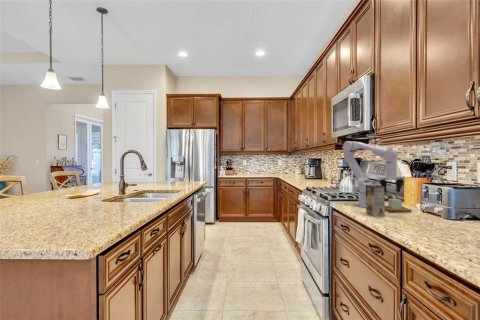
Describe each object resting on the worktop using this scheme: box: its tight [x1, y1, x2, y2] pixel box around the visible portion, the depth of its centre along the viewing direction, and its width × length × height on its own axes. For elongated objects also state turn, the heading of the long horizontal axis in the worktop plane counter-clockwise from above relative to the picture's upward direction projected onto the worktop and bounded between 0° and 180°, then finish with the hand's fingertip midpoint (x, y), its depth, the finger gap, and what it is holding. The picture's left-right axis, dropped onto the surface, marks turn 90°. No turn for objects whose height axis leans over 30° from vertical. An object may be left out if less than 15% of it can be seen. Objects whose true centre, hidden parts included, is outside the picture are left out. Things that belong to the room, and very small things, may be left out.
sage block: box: [387, 198, 403, 209], centre depth 153 cm, size 5×5×5 cm
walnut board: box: [385, 205, 413, 214], centre depth 153 cm, size 12×12×2 cm
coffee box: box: [365, 184, 386, 217], centre depth 143 cm, size 9×6×16 cm
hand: (391, 192), depth 155 cm, fingers open, 7 cm apart
